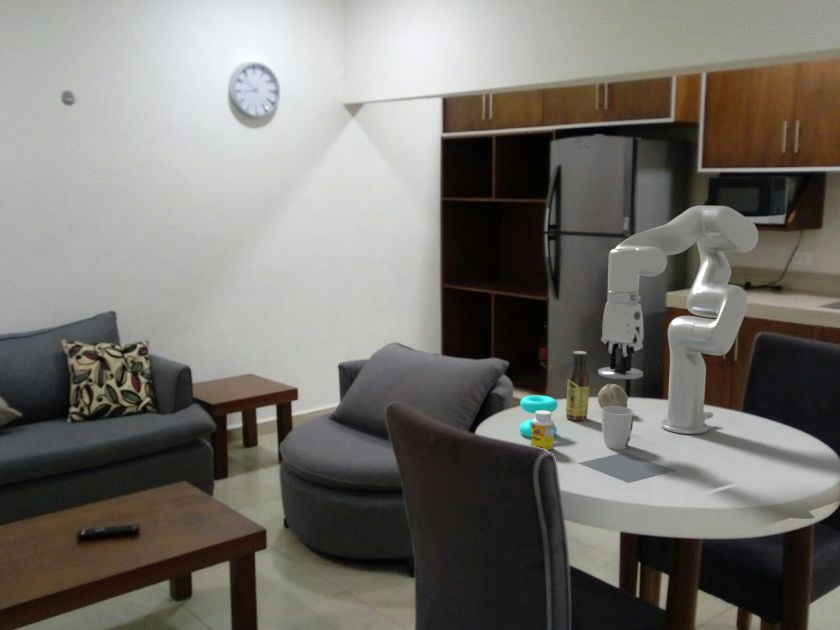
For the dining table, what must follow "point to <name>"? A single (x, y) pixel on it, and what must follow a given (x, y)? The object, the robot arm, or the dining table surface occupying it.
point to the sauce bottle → (578, 388)
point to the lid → (617, 372)
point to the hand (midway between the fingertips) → (620, 369)
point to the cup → (617, 426)
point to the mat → (627, 467)
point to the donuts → (533, 405)
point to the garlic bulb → (612, 396)
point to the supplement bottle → (542, 430)
